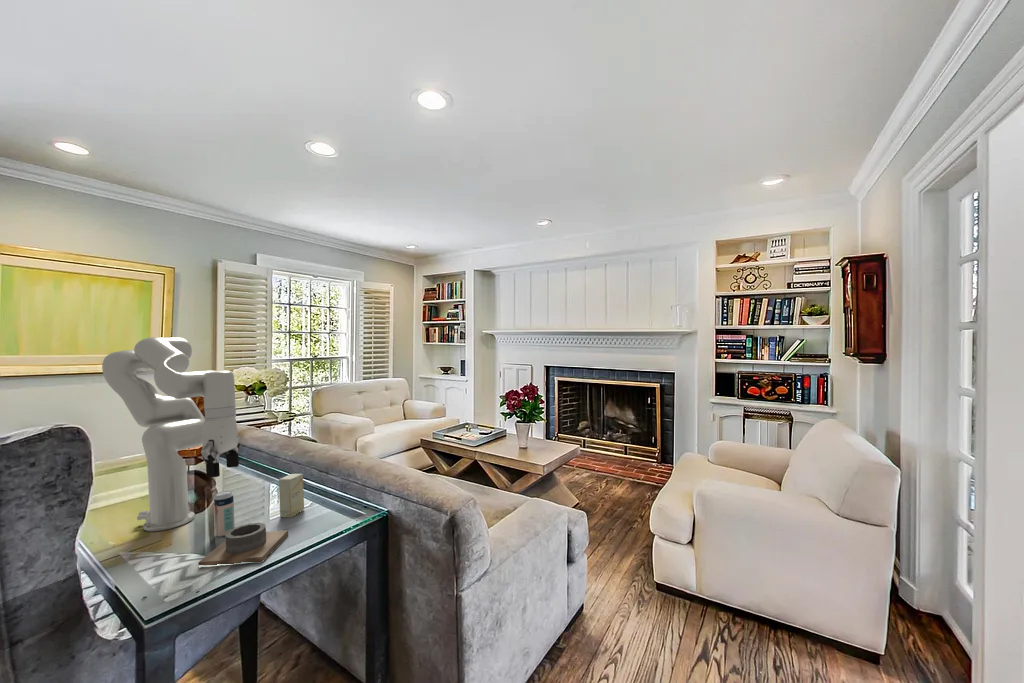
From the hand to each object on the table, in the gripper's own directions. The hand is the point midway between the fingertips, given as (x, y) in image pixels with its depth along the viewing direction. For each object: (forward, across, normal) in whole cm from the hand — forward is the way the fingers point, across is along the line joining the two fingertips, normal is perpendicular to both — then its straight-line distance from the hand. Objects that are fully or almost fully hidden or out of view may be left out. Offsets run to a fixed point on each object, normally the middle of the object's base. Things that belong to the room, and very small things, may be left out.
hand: (223, 471), depth 122 cm
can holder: (+18, +12, +11) cm, 25 cm away
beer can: (+18, 0, -1) cm, 19 cm away
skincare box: (+19, -12, +13) cm, 26 cm away
